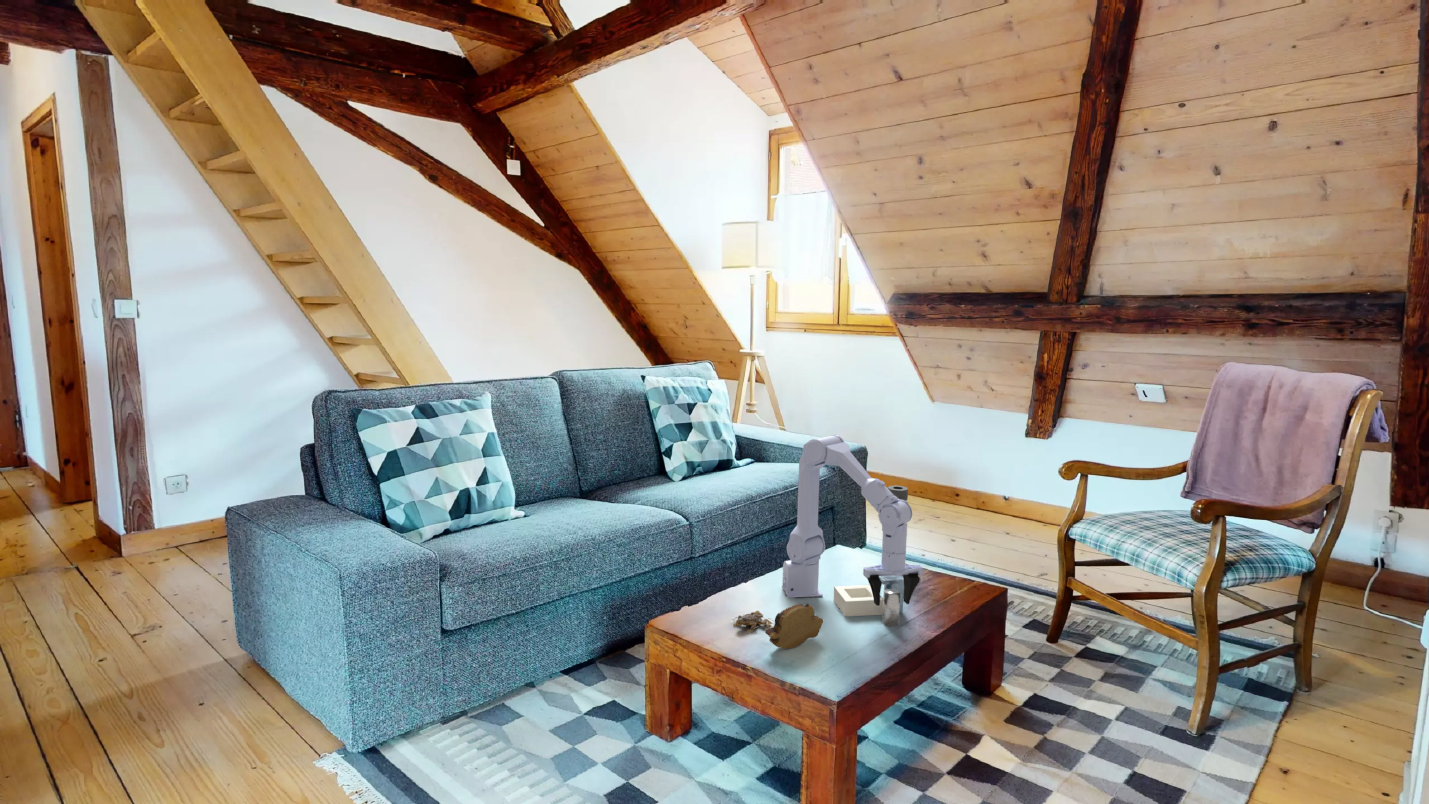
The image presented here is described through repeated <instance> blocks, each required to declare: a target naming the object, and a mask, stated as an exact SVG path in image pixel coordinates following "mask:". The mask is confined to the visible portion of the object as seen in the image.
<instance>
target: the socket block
mask: <svg viewBox="0 0 1429 804" xmlns="http://www.w3.org/2000/svg"><path fill="white" fill-rule="evenodd" d="M833 602H834V604H835V605H836V604H837V605H836V606H837V608H838V609H839V608H840V609H839V610H840V611H841V613H842V612H843V613H842V614H843V616H844V617H857V616H858V617H859V616H860V617H861V616H863V617H865V616H877V615H878V616H881V615H882V616H883V597H882V596H881V595H880V605H879V606H877V605H876V604H875V603H874V598H873V593H872V590H871V587H870V584H859V585H858V584H855V585H841V586H840V585H837V586H833Z"/></svg>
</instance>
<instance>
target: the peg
mask: <svg viewBox="0 0 1429 804" xmlns="http://www.w3.org/2000/svg"><path fill="white" fill-rule="evenodd" d="M882 595H883V597H882V598H883V615H882V617H881V618H882V620H881V621H882V622H881V624H883V625H885V626H888V627H897V626H899V623H900V613H899V608H900V592H899V591H898V590H894V589H886V590H884V589H883V594H882Z"/></svg>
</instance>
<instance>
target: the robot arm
mask: <svg viewBox="0 0 1429 804" xmlns="http://www.w3.org/2000/svg"><path fill="white" fill-rule="evenodd" d="M802 447H803V449H802V454H801V456H800V458H799V460H798V486H797V488H798V489H797V516H796V517H797V519H796V526H795V527H794V528H793V530H791V532H790V534H789V540H788V543H787V545H786V553H787V556H788V558H789V560H785V561H783V566H782V585H781V588H782V590H783V591H784V593H785V595H786V596H787V597H788V598H790V599H791V598H811V597H814V598H815V597H823V593H822V592H821V590H820V589H819V577H820V576H819V574H820V572H819V571H820V569H819V568H820V560H821V555H823V553H825V551H826V543H825V539H824V531H823V529H822V528H821V527H820V526H819V525H818V524H819V499H820V497H819V496H820V471H821V469H822V468H823V467H824V466H826V465H827V466H833V467H834V466H835V467H840V468H841V469H842V470H843V471H844V472H845V474H847V475H848V477H850V478H851V479H852V480H853V481H854V482H856V483H857V485H858V486H859V487H861V488H860V489H861V491H860V493H861V496H863V498H865V500H866V501H867V502H868V503H869V505H870V506H872V507H873V509H874V510H876V512H877V514H878V515H877V517H878V520H879V522H880V525H881V531H882V539H881V540H882V542H881V543H882V545H881V564H878V565H873V566H868V567H863V571H862V573H863V574H862V575H863V576H864V577H865V578H866V579H867V582H868V583H869V584H868V585H870V587H871V590H872V593H873V598H874V603H875V604H876V605H877V606H879V605H880V596H881V589H882V585H883V584H882V582H881V581H880V578H879V576H891V575H895V576H902V577H903V578H904V595H903V603H905V604H906V605H909V604H910V602H911V599H912V597H913V593H914V591H915V589H916V587H918V585H919V583H920V582H921V577H920V576H923V574H924V573H923V570H924V568H923V566H921V565H920V564H906V561H907V560H906V557H907V555H906V553H907V539H908V538H907V536H908V523H909V522H910V521H912V517H913V509H912V507H911V505H910V504H909V502H908V501H907V500H906V501H905V500H900V499H898V498H897V497H896V496H894V495H893V494H892V493H891V492H890V490H889V489H888V486H886V483H885V482H884V481H883V479H882V480H880V478H875V477H874V478H873V477H871V476H870V474H869V473H868V472H867V471H866V469H865V468H864V467H863V465H862V464H861V462H859V461H858V460H857V458H856V457H855V456H854V455H853V453H852V451H850V446H849V443H847V442H845V440H844V439H843V438H842V436H840V435H837V434H831V435H830V436H824V437H820V438H812V439H810V440H808V441H807V442H806V443H804V444H803V446H802Z"/></svg>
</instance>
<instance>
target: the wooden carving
mask: <svg viewBox="0 0 1429 804" xmlns="http://www.w3.org/2000/svg"><path fill="white" fill-rule="evenodd" d="M823 623H824V619H823V618H821V617H819V616H817V615H815V609H814V606H813V605H811V604H809V603H805V604H801V603H800V604H798V603H796V604H793V605H791V606H788V607H787V608H784V609H783V610H781V612H777V614H776V616H775V618H774V624H773V625H774V626H773V627H770V628H769V629H766V630H765V632H764V633H765V635H767V636H768V637H769V642H770V643H772V645H774V646H775V647H777V648H779V649H784V650H785V649H786V650H790V649H794V648H795V649H796V648H798V647H800V646H801V645H802V644H804V643H805V642H806V641H808V639H814V638H816V637H818V636H819V634H820V629H822V625H823Z"/></svg>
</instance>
